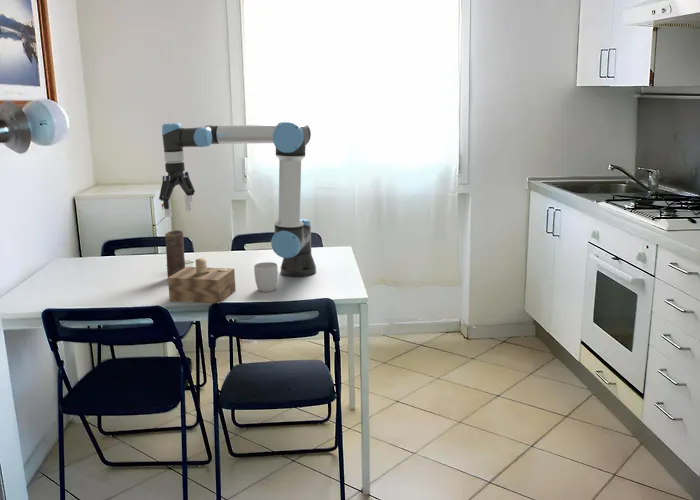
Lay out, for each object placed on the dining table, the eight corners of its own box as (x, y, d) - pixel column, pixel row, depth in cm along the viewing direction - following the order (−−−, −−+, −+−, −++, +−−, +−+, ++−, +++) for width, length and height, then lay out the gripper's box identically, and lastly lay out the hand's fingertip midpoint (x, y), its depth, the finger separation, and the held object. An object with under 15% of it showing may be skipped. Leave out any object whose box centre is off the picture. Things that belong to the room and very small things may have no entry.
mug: (279, 292, 262) (278, 267, 259) (256, 293, 260) (254, 268, 258) (276, 283, 274) (275, 259, 271) (253, 284, 272) (252, 260, 270)
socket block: (235, 290, 264) (234, 268, 262) (219, 303, 249) (218, 279, 247) (188, 288, 268) (186, 266, 266) (169, 300, 253) (167, 277, 251)
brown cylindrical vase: (189, 277, 285) (186, 230, 280) (178, 281, 278) (174, 234, 273) (175, 275, 288) (171, 229, 283) (164, 279, 281) (160, 233, 277)
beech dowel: (209, 281, 259) (207, 258, 257) (205, 284, 255) (203, 261, 253) (199, 280, 260) (198, 258, 258) (195, 283, 256) (193, 260, 254)
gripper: (185, 158, 286) (190, 208, 291) (146, 165, 264) (151, 218, 268) (200, 158, 283) (204, 208, 288) (162, 165, 261) (167, 219, 266)
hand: (179, 213), depth 278 cm, fingers open, 13 cm apart
